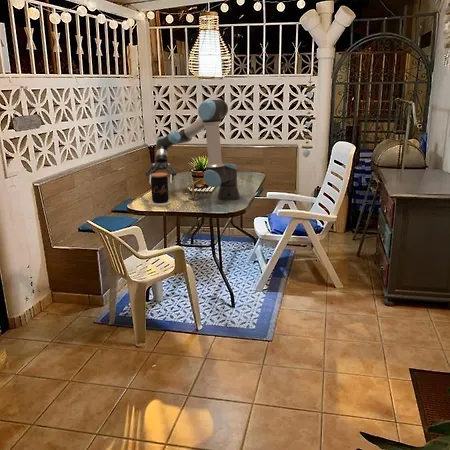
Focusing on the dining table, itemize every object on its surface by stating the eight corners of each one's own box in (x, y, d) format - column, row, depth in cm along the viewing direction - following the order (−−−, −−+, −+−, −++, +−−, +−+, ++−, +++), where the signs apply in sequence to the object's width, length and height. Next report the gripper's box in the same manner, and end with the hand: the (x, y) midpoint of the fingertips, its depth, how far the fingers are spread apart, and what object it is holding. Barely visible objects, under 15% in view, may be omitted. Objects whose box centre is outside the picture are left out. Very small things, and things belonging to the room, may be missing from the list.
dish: (174, 203, 310) (174, 201, 309) (158, 207, 301) (158, 205, 301) (162, 200, 319) (162, 198, 318) (146, 204, 310) (146, 201, 310)
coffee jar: (152, 204, 304) (151, 176, 298) (151, 200, 314) (150, 173, 308) (169, 203, 306) (168, 175, 300) (168, 199, 316) (166, 172, 310)
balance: (206, 198, 323) (205, 179, 319) (186, 202, 312) (185, 183, 308) (200, 196, 327) (199, 178, 323) (180, 201, 316) (179, 182, 312)
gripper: (180, 160, 326) (180, 186, 317) (144, 160, 326) (142, 187, 316) (179, 153, 320) (179, 180, 310) (142, 154, 319) (140, 181, 310)
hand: (160, 184), depth 313 cm, fingers open, 13 cm apart
